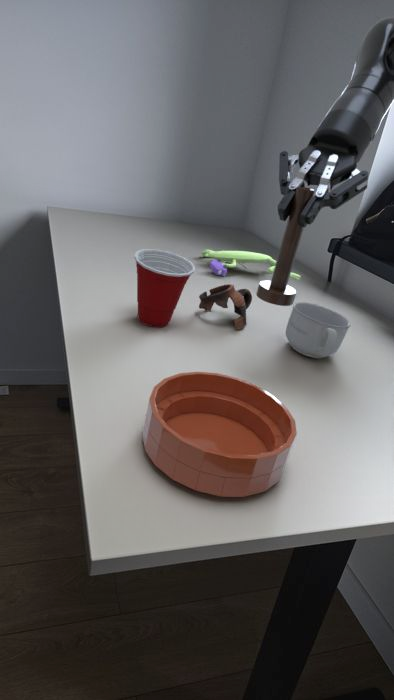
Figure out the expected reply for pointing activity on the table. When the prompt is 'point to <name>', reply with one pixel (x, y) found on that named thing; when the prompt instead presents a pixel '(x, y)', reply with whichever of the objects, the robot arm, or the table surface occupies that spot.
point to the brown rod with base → (286, 255)
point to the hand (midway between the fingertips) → (292, 219)
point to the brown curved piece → (221, 297)
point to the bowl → (218, 433)
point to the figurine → (238, 260)
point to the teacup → (315, 330)
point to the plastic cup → (160, 284)
